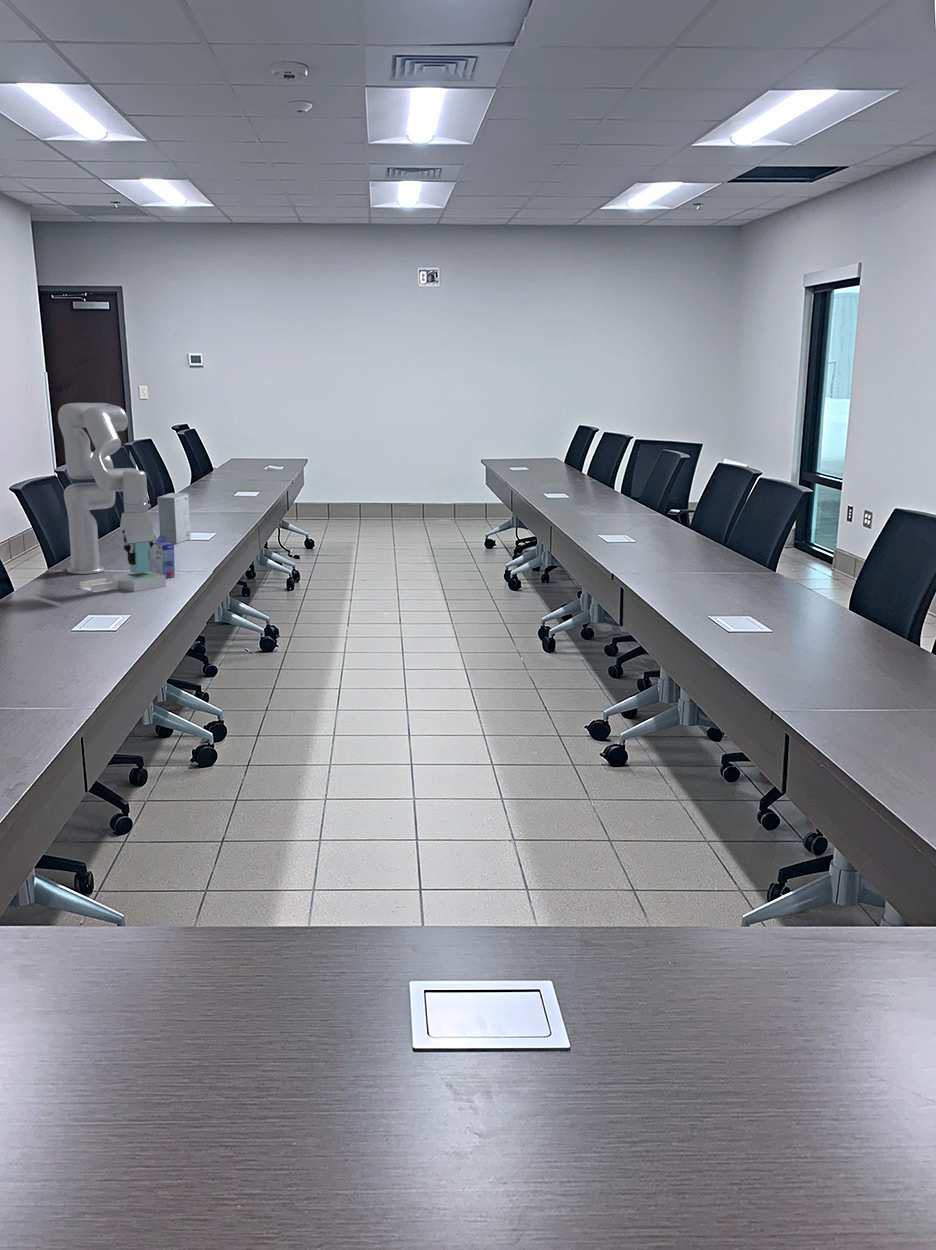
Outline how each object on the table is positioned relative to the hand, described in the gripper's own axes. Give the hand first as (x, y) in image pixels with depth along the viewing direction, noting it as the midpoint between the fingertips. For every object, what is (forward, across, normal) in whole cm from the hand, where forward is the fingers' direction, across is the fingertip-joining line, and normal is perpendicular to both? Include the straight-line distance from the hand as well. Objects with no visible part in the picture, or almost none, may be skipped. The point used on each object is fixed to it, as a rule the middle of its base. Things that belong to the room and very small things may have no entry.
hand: (138, 562), depth 348 cm
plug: (+3, 0, 0) cm, 3 cm away
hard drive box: (+9, -67, -78) cm, 103 cm away
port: (+9, 0, 0) cm, 9 cm away
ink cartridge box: (+9, -18, -15) cm, 25 cm away
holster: (+9, +11, -7) cm, 16 cm away
